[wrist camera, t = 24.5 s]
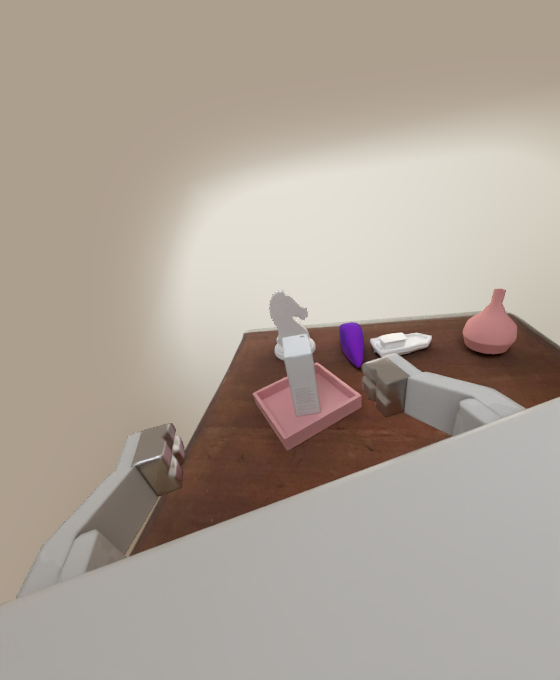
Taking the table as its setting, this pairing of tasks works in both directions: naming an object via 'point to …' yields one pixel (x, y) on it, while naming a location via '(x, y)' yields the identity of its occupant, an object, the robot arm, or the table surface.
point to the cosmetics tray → (295, 430)
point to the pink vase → (491, 328)
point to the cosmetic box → (301, 374)
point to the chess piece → (287, 319)
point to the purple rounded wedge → (352, 343)
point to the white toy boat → (400, 343)
